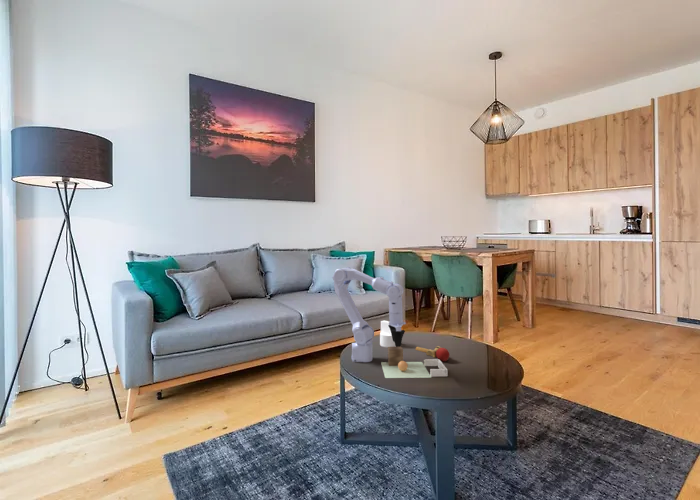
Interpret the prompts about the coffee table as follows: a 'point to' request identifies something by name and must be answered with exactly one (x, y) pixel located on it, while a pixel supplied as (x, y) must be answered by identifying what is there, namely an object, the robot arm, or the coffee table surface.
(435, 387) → the coffee table surface
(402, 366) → the ball
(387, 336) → the cylinder with rectangular tab
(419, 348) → the kendama
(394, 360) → the tall cardboard box
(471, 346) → the coffee table surface
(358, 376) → the coffee table surface
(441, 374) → the pitch
